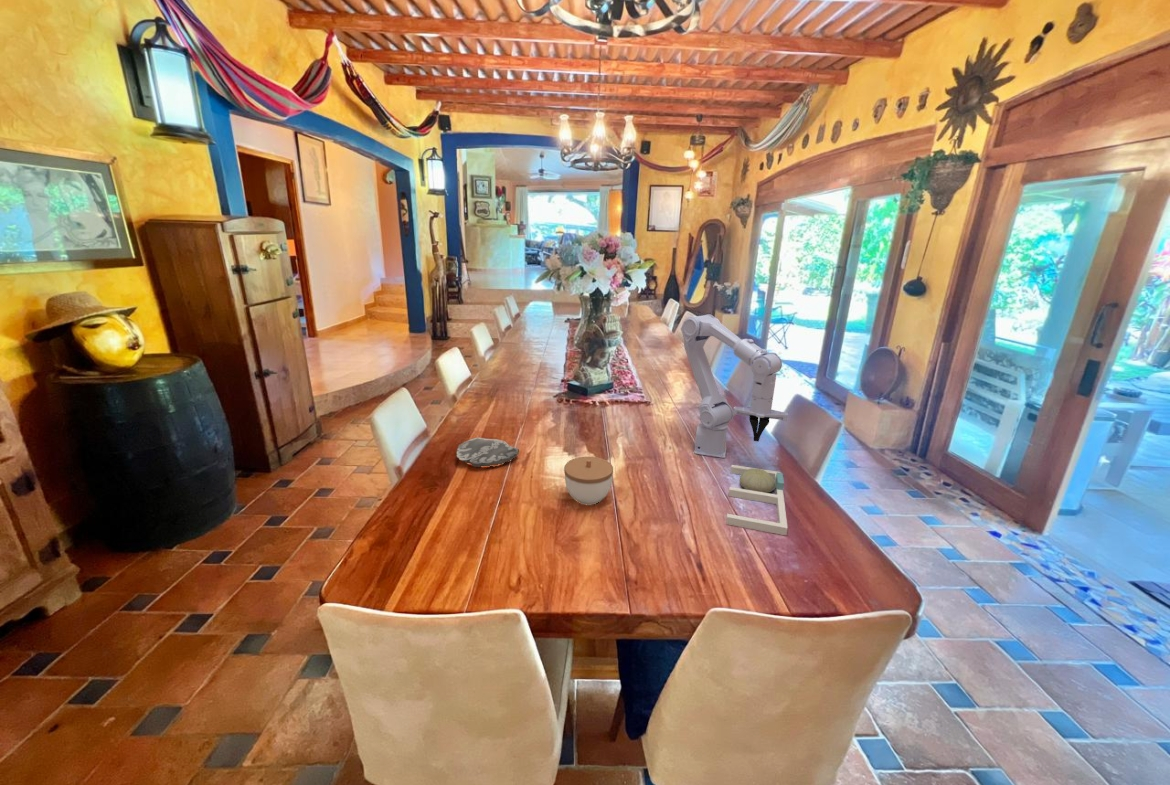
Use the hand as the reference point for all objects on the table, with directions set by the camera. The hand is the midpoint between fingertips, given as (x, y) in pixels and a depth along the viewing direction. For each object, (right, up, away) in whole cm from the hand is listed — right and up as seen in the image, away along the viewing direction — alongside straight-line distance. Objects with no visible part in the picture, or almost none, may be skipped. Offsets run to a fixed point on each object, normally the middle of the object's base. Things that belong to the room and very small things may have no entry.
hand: (756, 439), depth 136 cm
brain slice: (-81, -7, +8) cm, 81 cm away
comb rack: (-5, -14, -13) cm, 20 cm away
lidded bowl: (-49, -14, -13) cm, 53 cm away
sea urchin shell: (-3, -13, -7) cm, 15 cm away
